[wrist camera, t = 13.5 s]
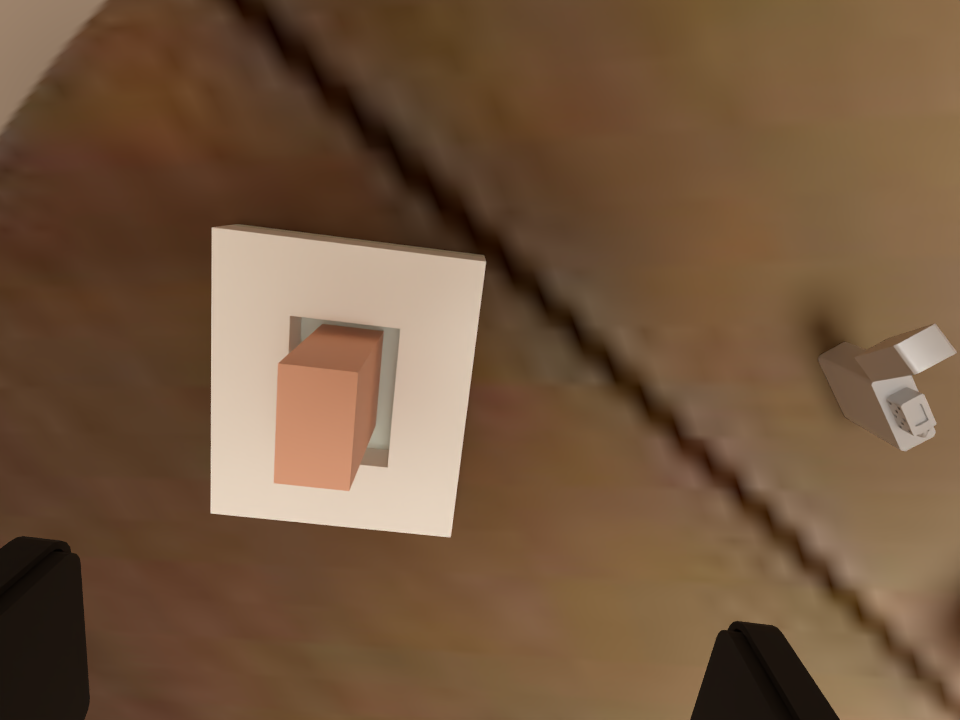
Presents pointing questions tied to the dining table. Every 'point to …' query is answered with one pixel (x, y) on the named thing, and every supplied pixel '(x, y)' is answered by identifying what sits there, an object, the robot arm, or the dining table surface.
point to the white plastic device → (887, 384)
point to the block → (327, 406)
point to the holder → (403, 376)
